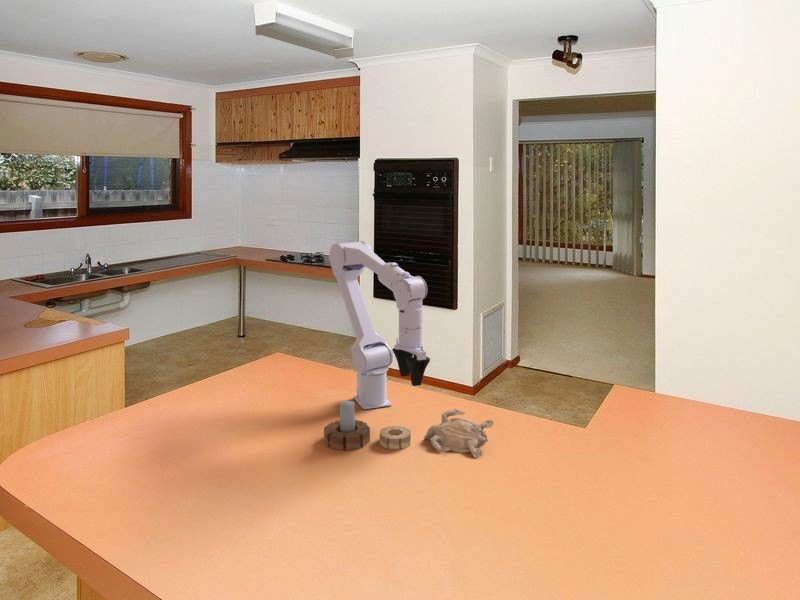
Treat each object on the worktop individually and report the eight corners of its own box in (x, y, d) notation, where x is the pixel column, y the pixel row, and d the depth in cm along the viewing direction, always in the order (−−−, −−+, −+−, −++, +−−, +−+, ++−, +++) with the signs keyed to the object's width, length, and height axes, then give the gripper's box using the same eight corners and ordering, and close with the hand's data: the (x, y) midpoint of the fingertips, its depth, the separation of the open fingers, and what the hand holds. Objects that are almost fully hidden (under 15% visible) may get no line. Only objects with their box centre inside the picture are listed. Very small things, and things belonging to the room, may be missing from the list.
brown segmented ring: (320, 435, 141) (320, 423, 141) (361, 428, 145) (361, 417, 144) (331, 453, 132) (331, 440, 132) (374, 445, 136) (374, 433, 135)
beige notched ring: (373, 441, 138) (373, 431, 137) (396, 433, 142) (396, 423, 142) (393, 452, 133) (393, 441, 132) (416, 443, 137) (416, 432, 137)
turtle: (491, 454, 139) (491, 410, 141) (496, 458, 130) (497, 411, 131) (423, 451, 139) (424, 408, 141) (424, 456, 130) (425, 409, 132)
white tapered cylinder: (338, 438, 140) (337, 402, 138) (352, 436, 141) (351, 399, 139) (343, 444, 137) (342, 407, 135) (357, 441, 138) (356, 404, 136)
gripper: (384, 321, 151) (385, 373, 153) (406, 335, 137) (406, 391, 140) (410, 319, 153) (411, 370, 156) (434, 332, 140) (434, 388, 143)
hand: (410, 380), depth 148 cm, fingers open, 7 cm apart
